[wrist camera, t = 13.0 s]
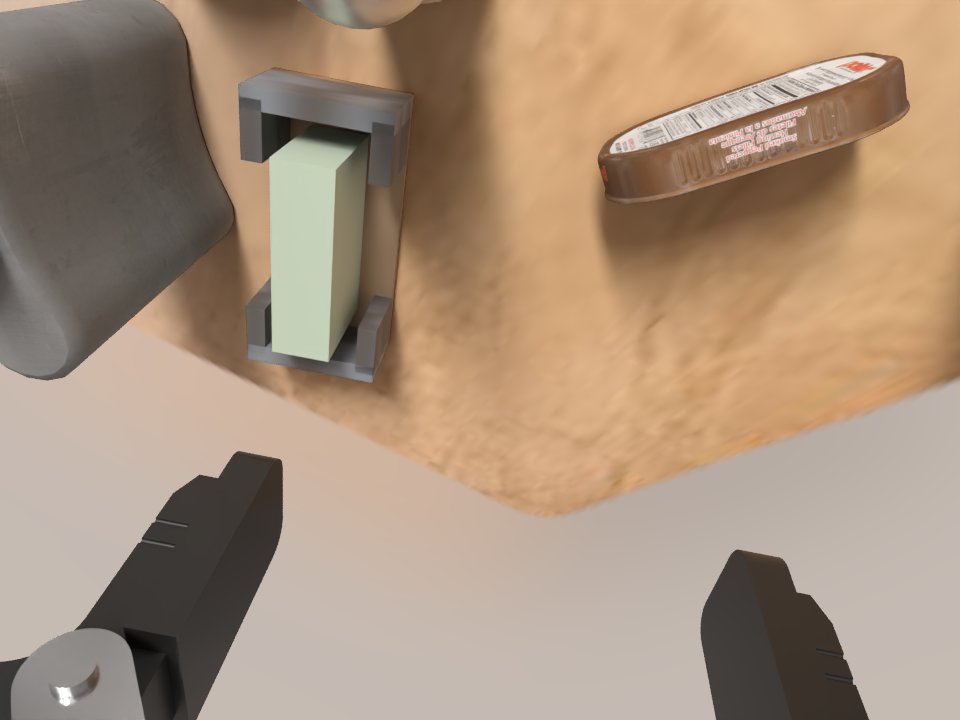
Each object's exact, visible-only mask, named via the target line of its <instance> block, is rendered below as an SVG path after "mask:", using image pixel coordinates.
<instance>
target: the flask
mask: <svg viewBox="0 0 960 720" xmlns="http://www.w3.org/2000/svg"><path fill="white" fill-rule="evenodd" d="M233 221H234V217H233V208H232V204H231V201H230V199H229V197H228V195H227V193H226V191H225V189H224V187H223V185H222V183H221V181H220V179H219V177H218V175H217V173H216V171H215V169H214V167H213V164H212V161H211V159H210V156H209V154H208V151H207V149H206V146H205V142H204V139H203V136H202V133H201V130H200V127H199V123H198V119H197V115H196V111H195V107H194V102H193V97H192V92H191V87H190V78H189V68H188V58H187V48H186V39H185V36H184V34H183V32H182V29H181V27H180V25H179V23H178V20H177V19H176V18H175V16H174V15H173V14H172V13H171V12H170V11H169V10H168V9H167V8H166V7H165V6H164V5H163V4H161V3H159V2H158V1H156V0H84V1H77V2H70V3H63V4H56V5H49V6H42V7H35V8H28V9H21V10H14V11H7V12H0V363H1V364H3V365H4V366H5V367H7V368H8V369H11V370H13V371H15V372H17V373H19V374H21V375H24V376H26V377H29V378H35V379H41V380H53V379H58V378H63V377H65V376H66V375H68V374H69V373H70V372H71V371H73V370H74V369H75V368H76V367H77V366H79V365H80V364H81V363H82V362H83V361H84V360H85V359H86V358H88V356H89V355H91V354H92V353H93V352H94V351H96V350H97V348H99V347H100V346H101V345H102V344H103V343H104V342H105V341H107V340H108V339H109V338H110V337H111V336H112V335H113V334H115V333H116V332H117V331H118V330H119V329H120V328H121V327H122V326H124V325H125V324H126V323H127V322H128V321H129V320H130V319H131V318H133V317H134V316H135V315H136V314H137V313H138V312H139V311H140V310H142V309H143V308H144V307H145V306H146V305H147V304H148V303H149V302H151V301H152V300H153V299H154V298H155V297H156V296H157V295H158V294H159V293H161V292H162V291H163V290H164V289H165V288H166V287H167V286H168V285H170V284H171V283H172V282H173V281H174V280H175V279H176V278H177V277H179V276H180V275H181V274H182V273H183V272H184V271H185V270H186V269H188V268H189V267H190V266H191V265H192V264H193V263H194V262H195V261H197V260H198V259H199V258H200V257H201V256H202V255H203V254H204V253H206V252H207V251H208V250H209V249H210V248H211V247H212V246H213V245H214V244H216V243H217V242H218V241H219V240H220V239H221V238H222V237H223V236H225V235H226V234H227V233H228V232H229V231H230V228H231V226H232V223H233Z"/></svg>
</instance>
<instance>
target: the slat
mask: <svg viewBox="0 0 960 720" xmlns="http://www.w3.org/2000/svg"><path fill="white" fill-rule="evenodd" d="M368 141H369V135H364V134H358V133H353V132H347V131H342V130H337V129H331V128H326V127H321V126H315V125H311V126H310V127H308V128H307V129H306V130H304V131H303V132H302V133H301V134H299V135H298V136H297V137H295V138H294V139H293V140H291V141H290V142H289V143H287V144H286V145H285V146H283V147H282V148H281V149H280V150H278V151H277V152H276V153H274V154H273V155H272V156H270V157H269V173H270V241H271V309H272V351H273V352H278V353H283V354H288V355H294V356H299V357H304V358H309V359H315V360H320V361H325V362H329V360H330V358H331V356H332V354H333V353H334V351H335V349H336V347H337V345H338V344H339V342H340V340H341V338H342V336H343V335H344V333H345V331H346V329H347V327H348V325H349V324H350V322H351V320H352V318H353V316H354V315H355V313H356V311H357V309H358V298H359V282H360V266H361V251H362V235H363V220H364V204H365V188H366V173H367V157H368Z"/></svg>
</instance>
